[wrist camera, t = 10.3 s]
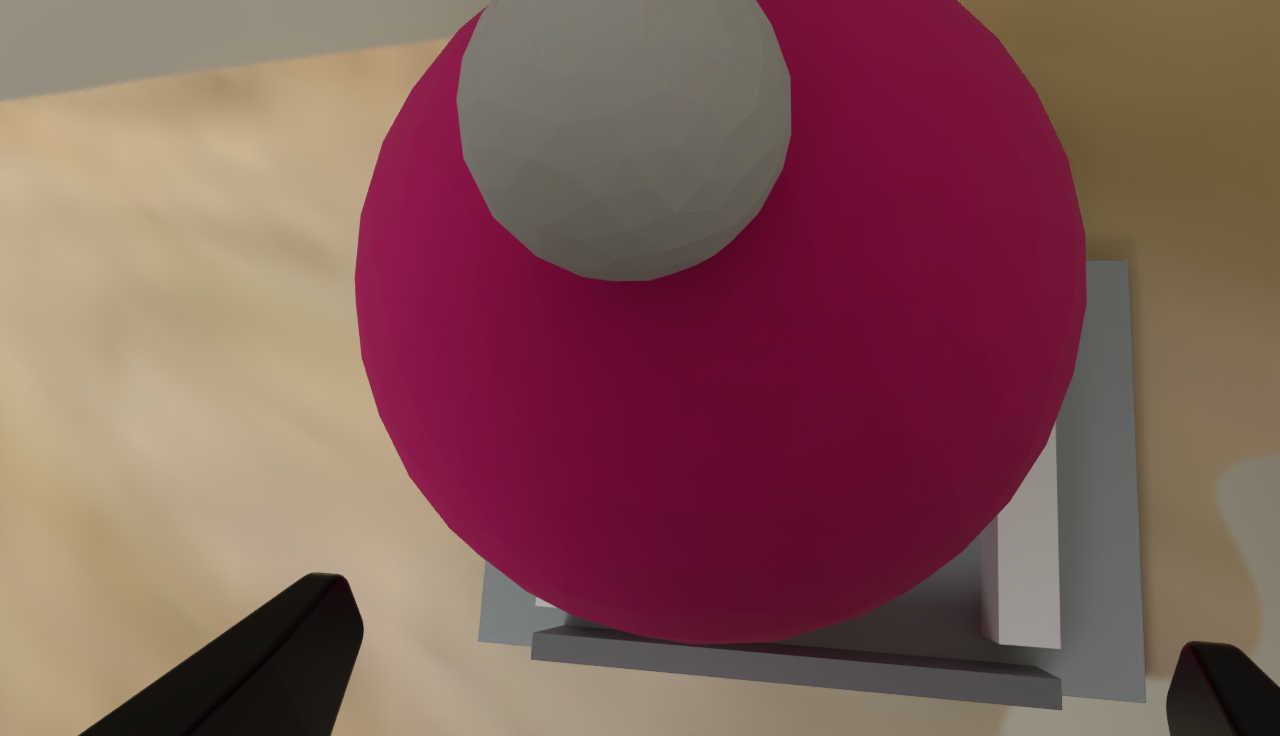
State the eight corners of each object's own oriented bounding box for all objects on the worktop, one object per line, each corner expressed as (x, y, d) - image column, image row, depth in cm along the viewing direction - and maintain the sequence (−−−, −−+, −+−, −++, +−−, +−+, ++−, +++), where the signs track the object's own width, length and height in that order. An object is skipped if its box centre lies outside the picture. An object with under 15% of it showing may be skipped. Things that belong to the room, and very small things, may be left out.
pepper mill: (998, 541, 22) (2126, 395, 3) (724, 662, 23) (86, 1218, 3) (859, 283, 24) (945, -858, 5) (612, 401, 25) (-192, -163, 5)
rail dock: (1135, 698, 21) (1186, 722, 18) (489, 638, 25) (438, 650, 22) (1118, 270, 23) (1163, 224, 20) (523, 270, 27) (481, 232, 24)
